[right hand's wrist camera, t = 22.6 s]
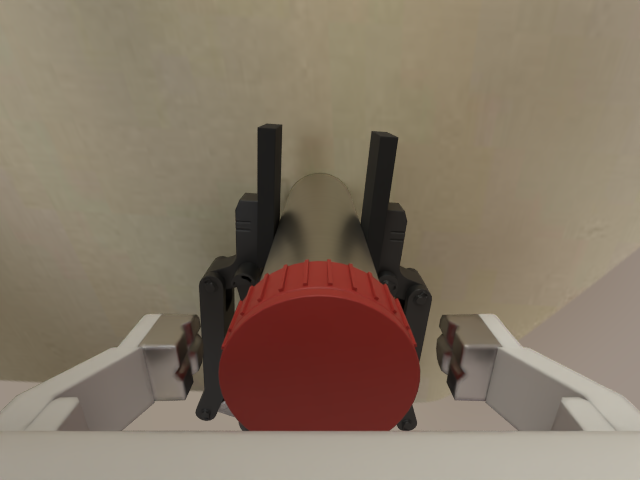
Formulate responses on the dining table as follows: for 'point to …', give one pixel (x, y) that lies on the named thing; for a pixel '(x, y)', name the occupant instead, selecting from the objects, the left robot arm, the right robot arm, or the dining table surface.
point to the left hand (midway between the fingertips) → (327, 131)
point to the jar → (319, 227)
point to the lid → (319, 352)
